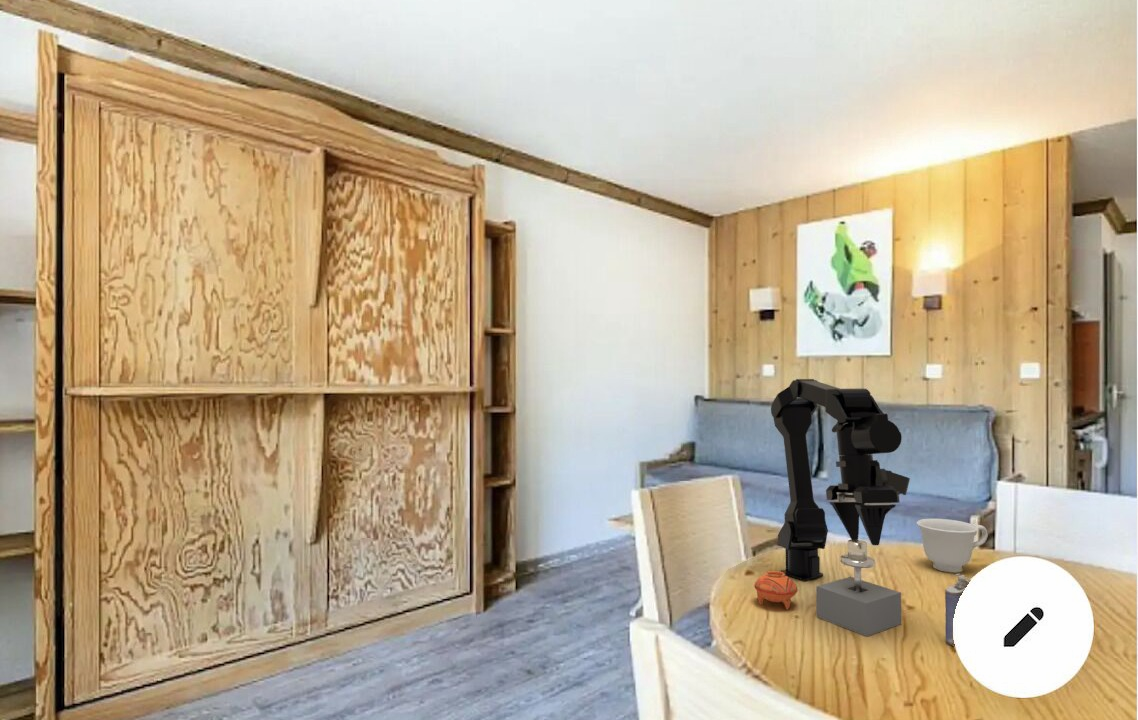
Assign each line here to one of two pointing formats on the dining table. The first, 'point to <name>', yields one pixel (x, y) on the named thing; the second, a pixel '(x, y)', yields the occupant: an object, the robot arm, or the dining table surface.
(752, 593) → the dining table surface
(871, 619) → the box
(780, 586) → the pot
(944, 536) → the teacup
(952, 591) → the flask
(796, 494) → the robot arm
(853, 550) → the plunger
